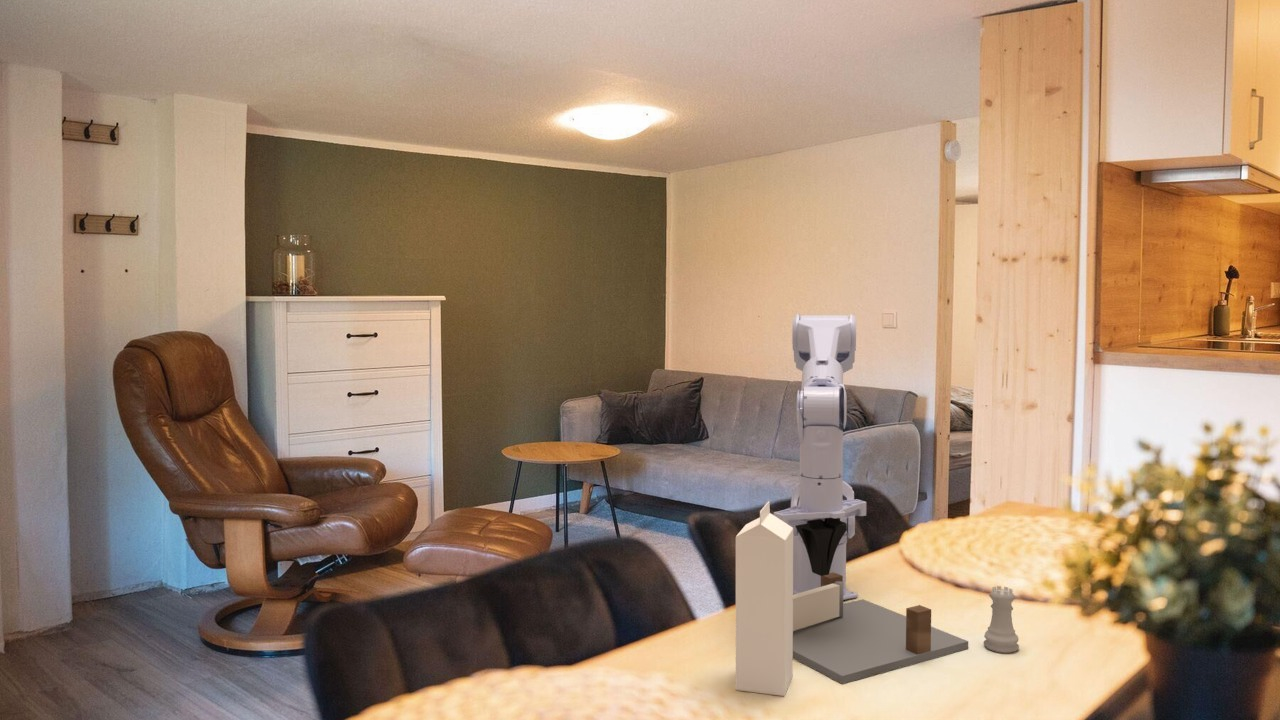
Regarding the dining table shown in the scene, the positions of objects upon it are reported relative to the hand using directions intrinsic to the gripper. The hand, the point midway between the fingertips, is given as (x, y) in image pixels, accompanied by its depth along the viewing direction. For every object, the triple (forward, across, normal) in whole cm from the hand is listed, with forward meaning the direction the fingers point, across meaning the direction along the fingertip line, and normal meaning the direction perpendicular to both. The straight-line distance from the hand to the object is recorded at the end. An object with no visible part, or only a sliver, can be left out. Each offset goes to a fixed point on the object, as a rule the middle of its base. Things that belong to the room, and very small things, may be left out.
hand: (820, 573), depth 129 cm
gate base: (+9, +4, -2) cm, 10 cm away
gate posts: (+8, +7, -3) cm, 11 cm away
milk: (+9, -15, -8) cm, 19 cm away
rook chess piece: (+10, +19, -14) cm, 26 cm away
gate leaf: (+8, 0, +3) cm, 8 cm away
